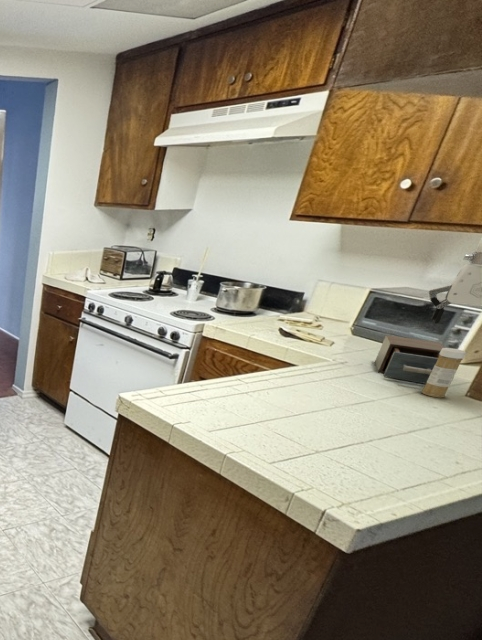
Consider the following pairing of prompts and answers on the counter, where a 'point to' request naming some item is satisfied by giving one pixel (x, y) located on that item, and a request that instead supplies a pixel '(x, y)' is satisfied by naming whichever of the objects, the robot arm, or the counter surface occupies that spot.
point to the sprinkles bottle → (443, 372)
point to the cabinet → (403, 343)
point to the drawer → (410, 364)
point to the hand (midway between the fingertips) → (460, 325)
